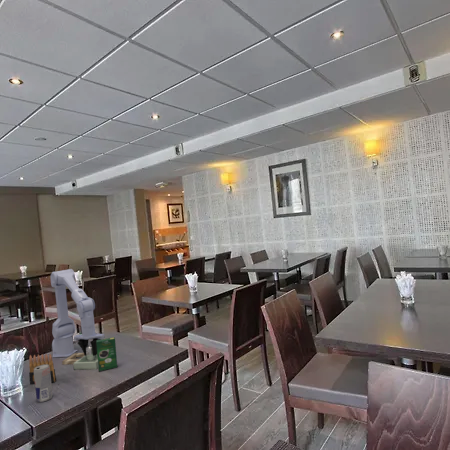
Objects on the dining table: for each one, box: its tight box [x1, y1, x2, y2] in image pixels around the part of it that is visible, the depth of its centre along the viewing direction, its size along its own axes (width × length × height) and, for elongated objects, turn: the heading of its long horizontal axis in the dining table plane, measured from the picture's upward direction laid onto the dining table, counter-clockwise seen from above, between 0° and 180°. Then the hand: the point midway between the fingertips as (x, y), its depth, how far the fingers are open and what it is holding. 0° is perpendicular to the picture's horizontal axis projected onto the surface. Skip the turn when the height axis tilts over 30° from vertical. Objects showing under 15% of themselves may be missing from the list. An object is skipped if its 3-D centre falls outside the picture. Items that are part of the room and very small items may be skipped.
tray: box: [72, 355, 99, 371], centre depth 155 cm, size 11×11×3 cm
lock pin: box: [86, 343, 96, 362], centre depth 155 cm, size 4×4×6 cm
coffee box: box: [96, 336, 118, 372], centre depth 148 cm, size 8×3×13 cm, turn 110°
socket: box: [61, 352, 85, 365], centre depth 163 cm, size 10×10×2 cm
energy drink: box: [34, 364, 54, 403], centre depth 126 cm, size 5×5×12 cm
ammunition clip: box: [28, 353, 57, 386], centre depth 140 cm, size 11×2×12 cm, turn 84°
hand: (91, 355), depth 155 cm, fingers closed on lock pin, 4 cm apart
